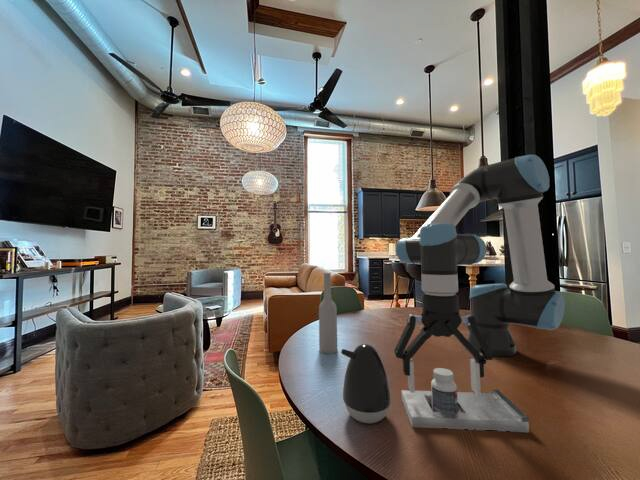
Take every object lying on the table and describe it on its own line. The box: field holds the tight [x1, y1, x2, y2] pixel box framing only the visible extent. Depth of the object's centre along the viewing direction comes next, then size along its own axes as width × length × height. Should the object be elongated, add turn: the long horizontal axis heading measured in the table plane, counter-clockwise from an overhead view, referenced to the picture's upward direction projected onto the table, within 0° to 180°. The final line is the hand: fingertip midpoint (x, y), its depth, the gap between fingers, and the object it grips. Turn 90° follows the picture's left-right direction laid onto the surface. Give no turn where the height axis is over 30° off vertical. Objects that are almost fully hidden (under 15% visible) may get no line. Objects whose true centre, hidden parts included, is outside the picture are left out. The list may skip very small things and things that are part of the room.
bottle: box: [318, 272, 338, 355], centre depth 101 cm, size 7×7×28 cm
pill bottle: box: [430, 367, 459, 413], centre depth 61 cm, size 5×5×9 cm
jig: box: [401, 389, 530, 434], centre depth 60 cm, size 22×11×3 cm, turn 84°
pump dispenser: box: [340, 343, 392, 424], centre depth 60 cm, size 10×10×15 cm
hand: (443, 391), depth 61 cm, fingers open, 13 cm apart
